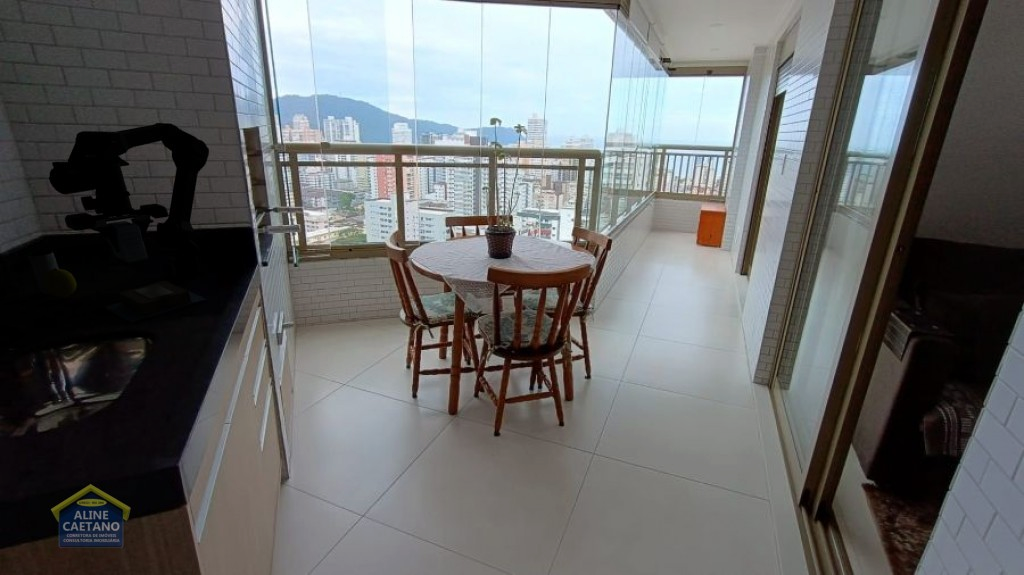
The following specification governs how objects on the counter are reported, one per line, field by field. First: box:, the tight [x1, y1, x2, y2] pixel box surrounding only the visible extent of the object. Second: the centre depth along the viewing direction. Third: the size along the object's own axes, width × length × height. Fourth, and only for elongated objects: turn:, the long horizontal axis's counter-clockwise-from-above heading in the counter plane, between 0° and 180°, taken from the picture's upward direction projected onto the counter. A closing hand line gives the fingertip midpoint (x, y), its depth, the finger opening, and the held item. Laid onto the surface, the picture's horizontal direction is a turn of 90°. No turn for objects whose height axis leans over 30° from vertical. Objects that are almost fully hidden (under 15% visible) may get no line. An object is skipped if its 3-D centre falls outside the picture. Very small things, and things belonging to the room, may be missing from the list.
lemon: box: [44, 268, 77, 299], centre depth 113 cm, size 6×6×8 cm
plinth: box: [118, 280, 191, 316], centre depth 112 cm, size 10×12×3 cm
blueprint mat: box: [104, 291, 207, 324], centre depth 113 cm, size 16×14×1 cm
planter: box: [27, 250, 60, 295], centre depth 116 cm, size 4×4×10 cm
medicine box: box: [107, 220, 148, 263], centre depth 113 cm, size 8×4×9 cm, turn 57°
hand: (129, 249), depth 114 cm, fingers closed on medicine box, 4 cm apart
